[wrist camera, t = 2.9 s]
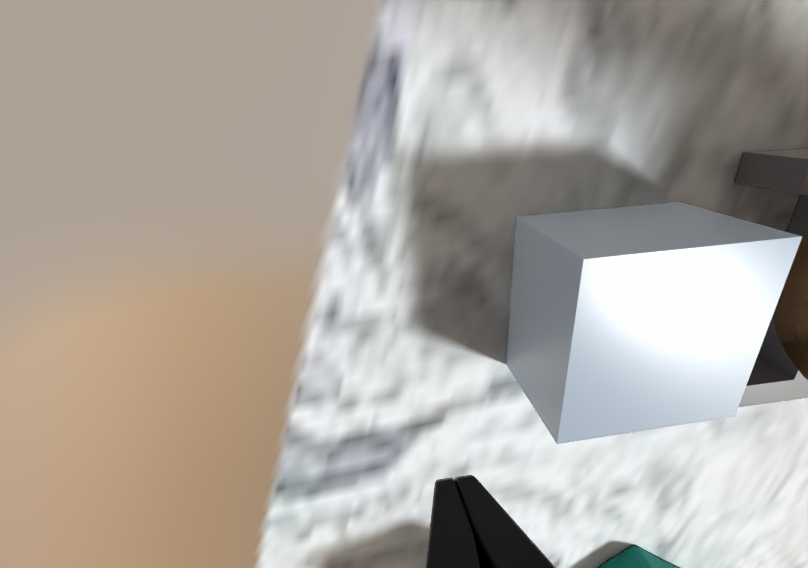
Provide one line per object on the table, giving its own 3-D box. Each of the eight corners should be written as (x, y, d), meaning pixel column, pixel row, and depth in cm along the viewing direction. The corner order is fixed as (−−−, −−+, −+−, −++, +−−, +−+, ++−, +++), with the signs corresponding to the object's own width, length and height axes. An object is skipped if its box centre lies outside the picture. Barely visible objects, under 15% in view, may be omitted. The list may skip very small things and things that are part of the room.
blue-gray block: (698, 198, 17) (831, 233, 12) (662, 341, 20) (758, 412, 15) (514, 215, 16) (583, 259, 11) (504, 362, 19) (556, 443, 14)
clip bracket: (844, 146, 16) (924, 152, 14) (757, 365, 21) (807, 397, 19) (743, 151, 16) (810, 159, 14) (676, 376, 20) (718, 410, 18)
